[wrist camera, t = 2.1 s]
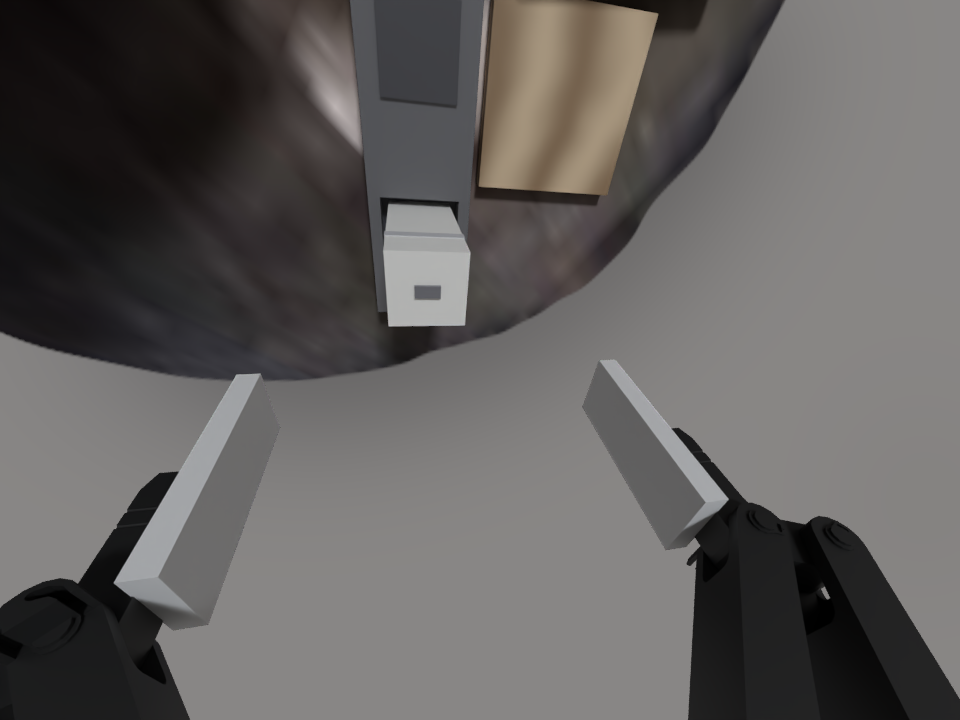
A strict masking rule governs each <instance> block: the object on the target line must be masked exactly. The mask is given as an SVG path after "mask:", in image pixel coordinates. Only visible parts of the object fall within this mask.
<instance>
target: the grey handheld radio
mask: <svg viewBox="0 0 960 720" xmlns="http://www.w3.org/2000/svg"><path fill="white" fill-rule="evenodd" d="M350 6H351V17H352V28H353V39H354V50H355V62H356V73H357V84H358V95H359V106H360V117H361V128H362V139H363V150H364V161H365V172H366V183H367V194H368V205H369V217H370V228H371V239H372V250H373V261H374V272H375V283H376V294H377V305H378V312H388V311H387V297H386V283H385V269H384V255H383V247H384V231H385V230H386V221H387V212H388V203H389V200H396V201H414V202H431V203H449V206H450V208H451V210H452V212H453V215H454V217H455V219H456V221H457V224H458V226H459V228H460V230H461V233H462V234H463V235H464V237H465V242H466V244H467V233H468V219H469V205H470V191H471V177H472V162H473V148H474V134H475V120H476V106H477V91H478V77H479V63H480V49H481V35H482V21H483V6H484V0H350Z"/></svg>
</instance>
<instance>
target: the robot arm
mask: <svg viewBox="0 0 960 720" xmlns="http://www.w3.org/2000/svg"><path fill="white" fill-rule="evenodd" d="M583 409H584V411H585V412H586V414H587V416H588V418H589V419H590V421H591V423H592V424H593V426H594V428H595V430H596V431H597V433H598V435H599V436H600V438H601V440H602V442H603V443H604V445H605V447H606V448H607V450H608V452H609V454H610V455H611V457H612V459H613V460H614V462H615V464H616V466H617V467H618V469H619V471H620V472H621V474H622V476H623V478H624V479H625V481H626V483H627V484H628V486H629V488H630V490H631V491H632V493H633V495H634V496H635V498H636V500H637V501H638V503H639V505H640V507H641V509H642V510H643V512H644V514H645V515H646V517H647V519H648V520H649V522H650V524H651V526H652V527H653V529H654V531H655V533H656V534H657V536H658V538H659V539H660V541H661V543H662V545H663V546H664V548H665V550H670V549H676V548H682V547H686V546H687V545H688V544H689V543H690V542H691V541H692V540H693V539H694V538H696V540H697V541H698V543H699V544H700V547H699V548H698V549H697V550H696V551H695V552H694V554H692V555H691V557H690V558H689V559H688V561H687V565H689V566H691V565H692V564H693V562H695V561H696V560H697V562H696V568H695V569H696V580H695V599H694V620H693V638H692V657H691V676H690V695H689V715H688V720H960V699H959V697H958V696H957V694H956V692H955V691H954V689H953V687H952V686H951V684H950V683H949V681H948V679H947V678H946V676H945V674H944V673H943V671H942V670H941V668H940V667H939V665H938V663H937V661H936V660H935V658H934V656H933V655H932V653H931V652H930V650H929V648H928V647H927V645H926V644H925V642H924V640H923V639H922V637H921V635H920V634H919V632H918V630H917V629H916V627H915V626H914V624H913V622H912V621H911V619H910V618H909V616H908V614H907V613H906V611H905V609H904V608H903V606H902V604H901V603H900V601H899V600H898V598H897V596H896V595H895V593H894V592H893V590H892V588H891V586H890V585H889V583H888V582H887V580H886V578H885V577H884V575H883V573H882V572H881V570H880V569H879V567H878V565H877V564H876V562H875V560H874V559H873V557H872V556H871V554H870V552H869V551H868V549H867V547H866V546H865V544H864V543H863V542H862V541H861V540H860V538H859V537H858V536H857V535H856V534H855V533H854V532H852V531H851V530H850V529H849V528H847V527H846V526H844V525H842V524H841V523H839V522H838V521H835V520H833V519H830V518H828V517H821V516H818V517H815V518H813V519H811V520H810V521H809V522H808V523H807V524H800V523H795V522H790V521H785V520H780V519H779V518H778V517H777V516H775V515H774V514H773V513H772V512H771V511H769V510H767V509H766V508H764V507H762V506H760V505H757V504H754V503H748V502H747V501H746V500H745V499H744V498H743V497H742V496H741V495H740V494H739V492H738V491H737V490H736V489H735V488H734V487H733V485H732V484H731V483H730V482H729V481H728V479H727V478H726V477H725V476H724V475H723V474H722V472H721V471H720V470H719V469H718V468H717V467H716V465H715V464H714V463H713V462H711V460H710V458H709V457H708V456H707V455H706V454H705V453H703V452H702V449H701V448H700V447H699V445H698V444H697V443H696V442H695V441H694V440H693V438H691V437H690V436H689V435H687V434H686V433H684V432H683V431H682V430H681V429H679V428H673V429H671V428H670V426H669V425H668V424H667V423H666V421H665V420H664V419H663V418H662V417H661V415H660V414H659V413H658V412H657V411H656V409H655V408H654V407H653V405H652V404H651V403H650V402H649V401H648V399H647V398H646V397H645V396H644V394H643V393H642V392H641V391H640V389H639V388H638V387H637V386H636V385H635V383H634V382H633V381H632V380H631V378H630V377H629V376H628V375H627V373H626V372H625V371H624V370H623V369H622V367H621V366H620V365H619V364H618V362H617V361H616V360H599V362H598V365H597V368H596V371H595V373H594V376H593V379H592V382H591V384H590V387H589V390H588V393H587V396H586V398H585V401H584V404H583ZM279 429H280V426H279V423H278V420H277V417H276V415H275V412H274V409H273V406H272V404H271V401H270V398H269V395H268V393H267V390H266V387H265V384H264V382H263V379H262V376H261V374H242V375H236V376H235V378H234V380H233V381H232V383H231V385H230V387H229V388H228V390H227V392H226V393H225V395H224V397H223V398H222V400H221V402H220V403H219V405H218V407H217V409H216V410H215V412H214V414H213V416H212V417H211V419H210V420H209V422H208V424H207V426H206V427H205V429H204V431H203V433H202V434H201V436H200V438H199V439H198V441H197V442H196V444H195V446H194V448H193V449H192V451H191V453H190V455H189V456H188V458H187V460H186V461H185V463H184V464H183V466H182V468H181V470H180V471H179V472H168V473H159V474H158V475H157V476H156V477H154V478H153V479H152V480H151V481H150V482H149V483H148V484H147V485H145V486H144V487H143V488H142V489H141V490H140V491H139V493H138V494H137V496H136V497H135V499H134V500H133V501H132V503H131V505H130V506H129V508H128V509H127V510H128V511H127V513H125V514H124V515H123V517H122V518H121V520H120V521H119V523H118V524H117V528H116V529H114V530H113V532H112V533H111V535H110V536H109V538H108V539H107V541H106V542H105V544H104V545H103V547H102V548H101V550H100V551H99V553H98V554H97V556H96V558H95V559H94V560H93V562H92V563H91V565H90V566H89V568H88V569H87V571H86V573H85V574H84V576H83V577H82V579H81V580H80V582H79V583H78V584H77V583H76V582H74V581H73V580H68V579H61V578H59V579H55V580H50V581H45V582H42V583H40V584H38V585H36V586H33V587H31V588H29V589H27V590H25V591H23V592H21V593H20V594H18V595H17V596H15V597H14V598H12V599H11V600H10V601H8V602H7V603H5V604H4V605H3V606H2V607H1V608H0V720H190V718H189V716H188V714H187V711H186V709H185V706H184V704H183V701H182V699H181V696H180V694H179V691H178V689H177V687H176V684H175V682H174V679H173V677H172V674H171V672H170V669H169V667H168V665H167V662H166V660H165V657H164V655H163V652H162V650H161V647H160V645H159V643H158V642H157V641H156V640H155V638H156V636H157V634H158V632H159V629H160V627H161V625H162V623H164V624H166V625H167V626H168V627H169V628H171V629H172V630H179V629H185V628H191V627H197V626H203V625H208V624H209V621H210V618H211V616H212V613H213V610H214V607H215V605H216V602H217V599H218V596H219V594H220V591H221V588H222V585H223V583H224V580H225V577H226V575H227V572H228V569H229V566H230V563H231V561H232V558H233V555H234V552H235V550H236V547H237V544H238V541H239V539H240V536H241V533H242V531H243V528H244V525H245V522H246V520H247V517H248V514H249V511H250V509H251V506H252V503H253V501H254V498H255V495H256V492H257V490H258V487H259V484H260V481H261V478H262V476H263V473H264V470H265V467H266V465H267V462H268V459H269V457H270V454H271V451H272V448H273V446H274V443H275V440H276V437H277V435H278V432H279ZM823 587H825V588H826V590H827V592H828V594H829V596H830V599H828V600H827V599H826V598H825V596H824V594H823V593H822V590H821V588H823Z"/></svg>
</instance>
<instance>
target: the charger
mask: <svg viewBox="0 0 960 720" xmlns="http://www.w3.org/2000/svg"><path fill="white" fill-rule="evenodd" d="M383 255H384V269H385V283H386V297H387V311H388V324H389V326H460V325H465V316H466V303H467V290H468V278H469V265H470V251H469V248H468V246H467V244H466V242H465V237H464V235H463V234H462V233H461V230H460V228H459V226H458V224H457V221H456V219H455V217H454V215H453V212H452V210H451V208H450V206H449V203H431V202H414V201H396V200H389V203H388V212H387V221H386V230H385V231H384V247H383Z"/></svg>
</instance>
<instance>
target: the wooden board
mask: <svg viewBox="0 0 960 720" xmlns="http://www.w3.org/2000/svg"><path fill="white" fill-rule="evenodd" d="M657 18H658V13H652V12H647V11H642V10H636V9H631V8H626V7H620V6H615V5H610V4H604V3H599V2H594V1H589V0H491V5H490V17H489V30H488V43H487V55H486V68H485V81H484V93H483V106H482V119H481V132H480V144H479V157H478V170H477V182H476V184H477V185H478V186H479V187H492V188H507V189H521V190H536V191H551V192H565V193H580V194H595V195H607V193H608V190H609V186H610V183H611V179H612V176H613V172H614V169H615V165H616V162H617V158H618V155H619V151H620V148H621V144H622V141H623V137H624V134H625V130H626V126H627V123H628V119H629V116H630V112H631V109H632V105H633V102H634V98H635V95H636V91H637V88H638V84H639V81H640V77H641V74H642V70H643V67H644V63H645V60H646V56H647V53H648V49H649V46H650V42H651V39H652V35H653V32H654V28H655V25H656V21H657Z"/></svg>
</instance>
